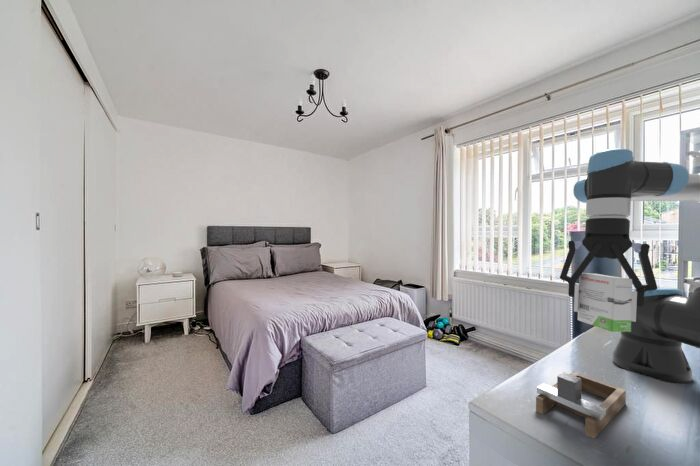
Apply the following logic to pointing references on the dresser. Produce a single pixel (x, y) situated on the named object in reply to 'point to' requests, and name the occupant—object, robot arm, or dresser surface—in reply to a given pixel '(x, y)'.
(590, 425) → the dock
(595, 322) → the ink box
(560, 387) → the bar
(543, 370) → the dresser surface
